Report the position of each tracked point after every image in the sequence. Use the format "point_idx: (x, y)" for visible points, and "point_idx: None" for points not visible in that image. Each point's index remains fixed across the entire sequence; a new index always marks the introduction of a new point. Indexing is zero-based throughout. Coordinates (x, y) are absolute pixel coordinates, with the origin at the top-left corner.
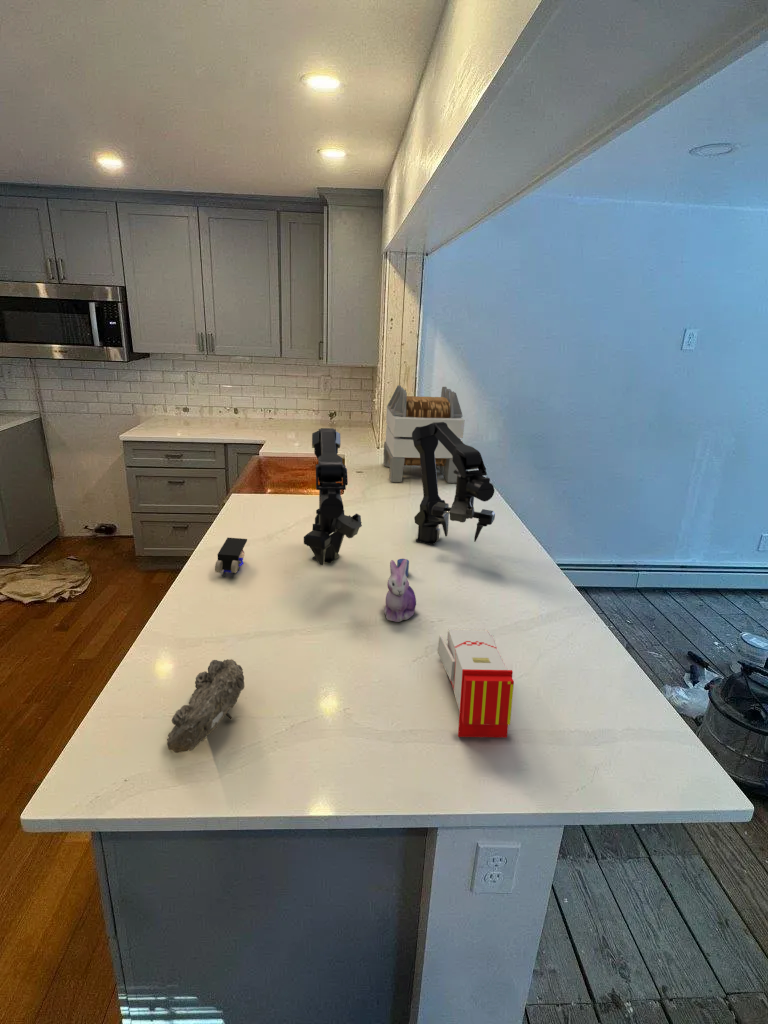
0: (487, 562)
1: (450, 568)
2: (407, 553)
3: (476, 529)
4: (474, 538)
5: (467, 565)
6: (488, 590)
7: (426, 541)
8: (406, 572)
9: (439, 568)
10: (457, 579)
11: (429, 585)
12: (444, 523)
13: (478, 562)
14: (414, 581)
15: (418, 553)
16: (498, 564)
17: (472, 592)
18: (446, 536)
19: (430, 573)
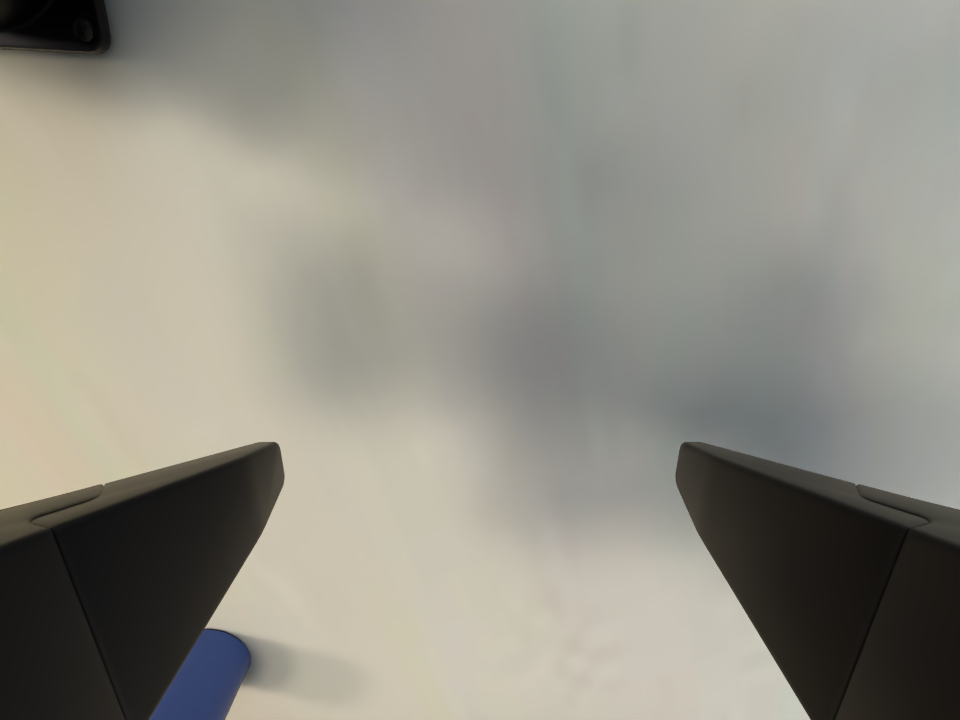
0: (728, 225)
1: (454, 466)
2: (36, 359)
3: (804, 702)
4: (697, 528)
5: (564, 364)
6: (744, 633)
7: (2, 26)
8: (235, 695)
9: (381, 497)
10: (541, 586)
11: (409, 697)
12: (129, 715)
13: (647, 263)
14: (316, 690)
15: (110, 318)
16: (832, 223)
17: (654, 680)
18: (283, 481)
19: (356, 581)
